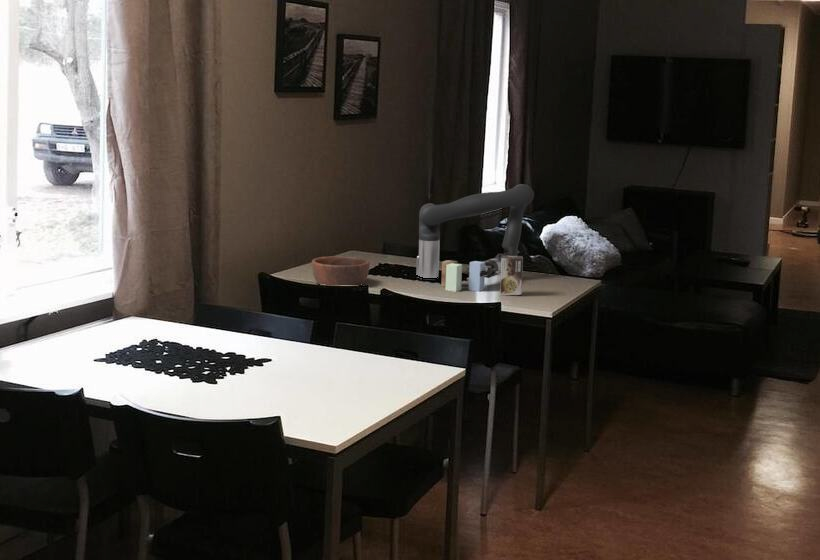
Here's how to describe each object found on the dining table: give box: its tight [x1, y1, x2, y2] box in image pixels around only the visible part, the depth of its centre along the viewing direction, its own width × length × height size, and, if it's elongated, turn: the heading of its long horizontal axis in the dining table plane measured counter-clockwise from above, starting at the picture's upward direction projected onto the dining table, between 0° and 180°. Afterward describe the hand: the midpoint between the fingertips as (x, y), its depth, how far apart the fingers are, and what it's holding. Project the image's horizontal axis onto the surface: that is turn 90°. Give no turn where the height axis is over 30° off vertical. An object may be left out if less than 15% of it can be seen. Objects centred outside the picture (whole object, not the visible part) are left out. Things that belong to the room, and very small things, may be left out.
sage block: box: [444, 263, 463, 293], centre depth 466 cm, size 5×5×11 cm
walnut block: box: [440, 259, 459, 288], centre depth 473 cm, size 5×5×11 cm
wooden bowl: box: [311, 255, 371, 286], centre depth 473 cm, size 25×25×10 cm
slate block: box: [468, 260, 486, 292], centre depth 467 cm, size 5×5×12 cm
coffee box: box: [499, 255, 524, 295], centre depth 459 cm, size 9×6×16 cm
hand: (474, 273), depth 465 cm, fingers closed on slate block, 5 cm apart
